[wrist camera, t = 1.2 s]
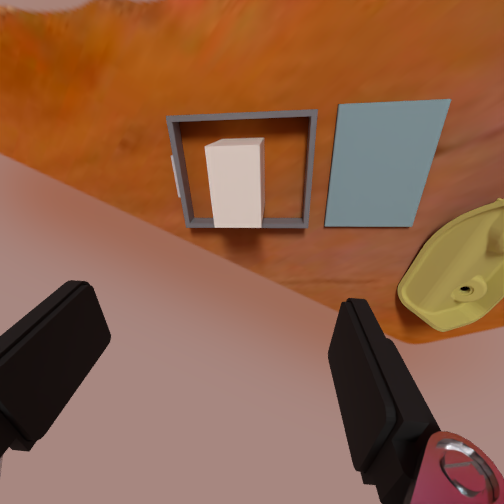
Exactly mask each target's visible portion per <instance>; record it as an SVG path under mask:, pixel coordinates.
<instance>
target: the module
mask: <svg viewBox="0 0 504 504" xmlns="http://www.w3.org/2000/svg"><path fill="white" fill-rule="evenodd" d="M205 153H206V161H207V169H208V177H209V186H210V194H211V202H212V210H213V219H214V227H215V228H261V227H262V220H263V214H264V207H265V155H264V138H235V139H221V140H219V141H216V142H214V143H212V144H209V145H207V146H205Z"/></svg>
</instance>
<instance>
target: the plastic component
mask: <svg viewBox="0 0 504 504" xmlns="http://www.w3.org/2000/svg"><path fill="white" fill-rule="evenodd" d="M464 286H467V287H469V289H467V290H466V291H462V290H460V288H461V287H464ZM397 290H398V296H399V299H400V300H401V302H402V303H403V304H404V306H405V307H407V308H408V309H409V310H411V311H412V312H413V313H414V314H416V315H417V316H418V317H420V318H421V319H422V320H423V321H425V322H426V323H427V324H429V325H430V326H431V327H432V328H434V329H436V330H438V331H442V332H445V331H448V330H452V329H455V328H458V327H461V326H465V325H468V324H471V323H473V322H475V321H477V320H478V319H480V318H481V317H483V316H484V315H485V314H487V313H488V312H489V311H490V310H491V309H492V308H493V307H494V306H495V305H496V304H497V303H498V302H499V301H500V300H501V299H502V298H503V297H504V199H500V198H498V199H497V200H496V201H495V202H494V203H491V204H488V205H484V206H482V207H479V208H477V209H474V210H471V211H469V212H467V213H465V214H463V215H461V216H459V217H457V218H456V219H454V220H452V221H450V222H449V223H447V224H446V225H445V226H443V227H442V228H441V229H439V230H438V231H437V232H436V233H435V234H434V235H433V236H432V237H431V238H430V239H429V240H428V241H427V242H426V243H425V245H424V246H423V248H422V249H421V251H420V252H419V254H418V255H417V257H416V259H415V260H414V262H413V263H412V265H411V266H410V268H409V269H408V271H407V273H406V274H405V276H404V277H403V279H402V280H401V282H400V283H399V285H398V289H397Z"/></svg>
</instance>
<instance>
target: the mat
mask: <svg viewBox="0 0 504 504" xmlns="http://www.w3.org/2000/svg"><path fill="white" fill-rule="evenodd" d="M450 102H451V99H442V100H420V101H398V102H376V103H354V104H338V111H337V120H336V128H335V137H334V146H333V154H332V163H331V171H330V180H329V188H328V197H327V205H326V214H325V223H324V226H352V227H412V225H413V222H414V219H415V215H416V212H417V209H418V206H419V202H420V199H421V196H422V193H423V189H424V186H425V183H426V180H427V176H428V173H429V170H430V167H431V163H432V160H433V157H434V154H435V151H436V147H437V144H438V141H439V138H440V134H441V131H442V128H443V125H444V121H445V118H446V115H447V112H448V108H449V105H450Z"/></svg>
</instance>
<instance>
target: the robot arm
mask: <svg viewBox="0 0 504 504" xmlns="http://www.w3.org/2000/svg"><path fill="white" fill-rule="evenodd" d="M110 339H111V334H110V331H109V329H108V326H107V323H106V320H105V318H104V315H103V312H102V310H101V307H100V305H99V302H98V299H97V296H96V294H95V291H94V288H93V287H92V286H90V284H89V283H88V282H85V281H73V280H71V281H68V282H66V283H64V284H63V285H62V286H61V287H60V288H58V289H57V290H56V291H55V292H54V293H52V294H51V295H50V296H49V297H47V298H46V299H45V300H44V301H43V302H41V303H40V304H39V305H38V306H36V307H35V308H34V309H33V310H32V311H30V312H29V313H28V314H27V315H25V316H24V317H23V318H22V319H21V320H19V321H18V322H17V323H16V324H15V325H13V326H12V327H11V328H10V329H8V330H7V331H6V332H5V333H4V334H2V335H1V336H0V475H1V466H2V458H3V454H4V453H5V451H6V450H7V449H8V447H10V448H11V449H12V450H20V451H30V450H31V448H32V447H33V445H34V444H35V442H36V441H37V440H39V439H41V438H42V437H43V436H44V435H45V434H46V432H47V431H48V430H49V428H50V427H51V425H52V424H53V423H54V421H55V420H56V418H57V417H58V415H59V414H60V413H61V411H62V410H63V408H64V407H65V405H66V404H67V403H68V401H69V400H70V398H71V397H72V396H73V394H74V393H75V391H76V390H77V388H78V387H79V386H80V384H81V383H82V381H83V380H84V378H85V377H86V376H87V374H88V373H89V371H90V370H91V368H92V367H93V366H94V364H95V363H96V362H97V360H98V358H99V357H100V356H101V354H102V353H103V352H104V350H105V349H106V347H107V346H108V344H109V343H110ZM328 359H329V364H330V369H331V372H332V377H333V381H334V385H335V389H336V394H337V398H338V403H339V407H340V411H341V415H342V420H343V424H344V428H345V432H346V437H347V441H348V445H349V449H350V453H351V457H352V462H353V465H354V468H355V470H356V471H360V472H361V476H362V480H363V483H364V484H369V485H376V488H377V492H378V495H379V499H380V502H381V503H382V504H504V478H503V476H502V474H501V473H500V471H499V470H498V469H497V467H496V466H495V464H494V463H493V461H492V460H491V459H490V458H489V457H488V456H487V455H486V454H485V453H484V452H483V451H482V450H481V449H480V448H478V447H477V446H476V445H474V444H473V443H472V442H471V441H469V440H467V439H465V438H464V437H462V436H460V435H458V434H455V433H451V432H448V431H441V430H440V428H439V426H438V424H437V422H436V420H435V419H434V417H433V415H432V413H431V411H430V409H429V407H428V406H427V404H426V402H425V400H424V398H423V396H422V394H421V393H420V391H419V389H418V387H417V385H416V383H415V381H414V380H413V378H412V376H411V374H410V372H409V370H408V368H407V367H406V365H405V363H404V361H403V359H402V357H401V355H400V354H399V352H398V350H397V348H396V346H395V345H394V343H393V342H392V341H391V340H390V339H388V338H386V337H385V335H384V333H383V331H382V329H381V327H380V325H379V324H378V322H377V320H376V318H375V316H374V314H373V312H372V310H371V308H370V306H369V304H368V302H367V301H366V300H365V299H355V298H348V299H347V301H346V302H342V303H341V307H340V310H339V314H338V318H337V321H336V325H335V329H334V332H333V336H332V339H331V343H330V347H329V351H328Z"/></svg>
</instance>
